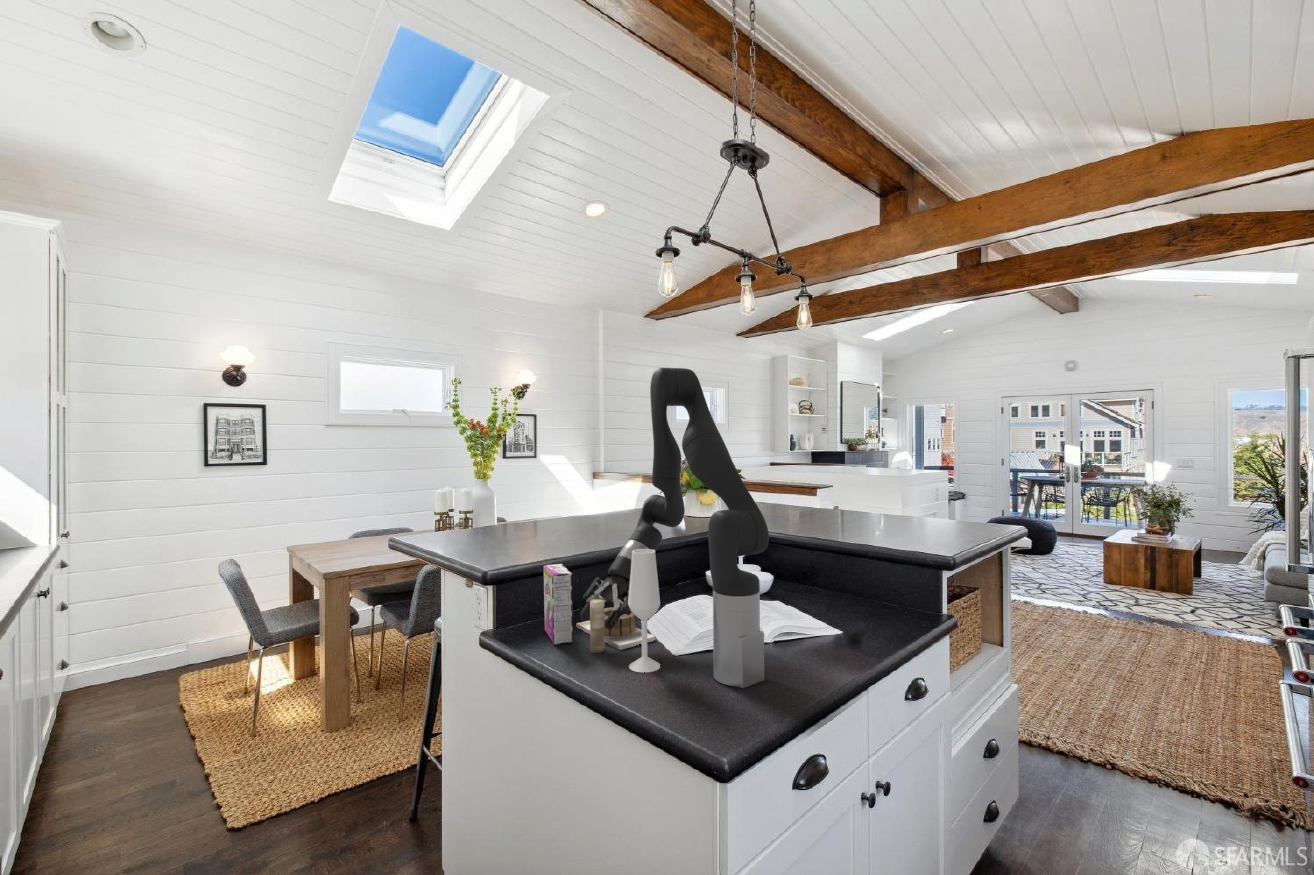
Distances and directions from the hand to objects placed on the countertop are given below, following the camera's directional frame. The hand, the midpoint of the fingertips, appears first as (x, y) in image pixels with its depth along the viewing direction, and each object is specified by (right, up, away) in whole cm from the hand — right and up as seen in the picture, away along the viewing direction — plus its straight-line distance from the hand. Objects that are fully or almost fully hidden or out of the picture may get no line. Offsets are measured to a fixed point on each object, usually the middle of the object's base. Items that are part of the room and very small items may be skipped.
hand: (594, 623), depth 131 cm
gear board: (+4, -6, +11) cm, 13 cm away
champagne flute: (+11, -6, -9) cm, 16 cm away
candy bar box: (-10, -7, +10) cm, 15 cm away
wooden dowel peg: (+1, -6, 0) cm, 6 cm away
